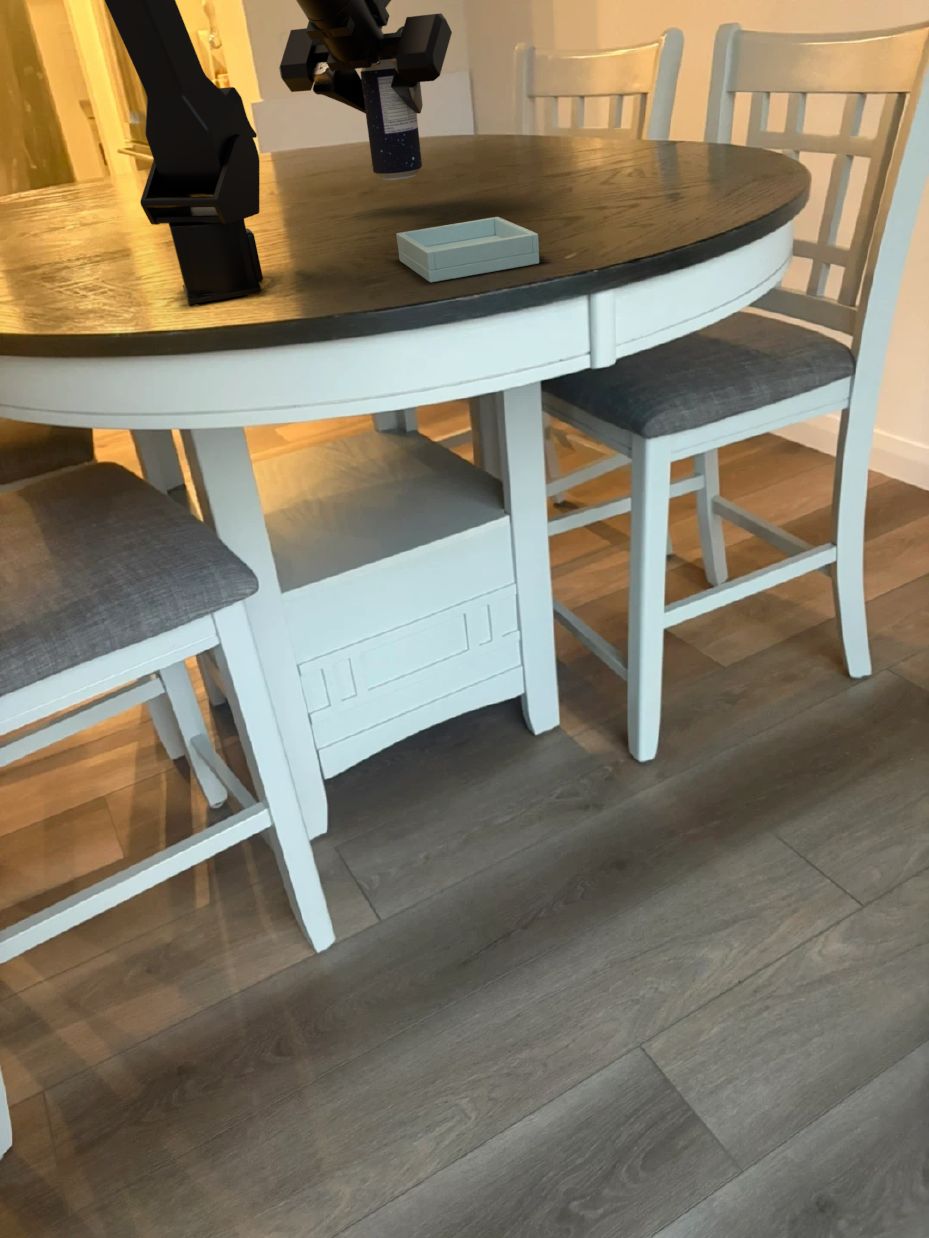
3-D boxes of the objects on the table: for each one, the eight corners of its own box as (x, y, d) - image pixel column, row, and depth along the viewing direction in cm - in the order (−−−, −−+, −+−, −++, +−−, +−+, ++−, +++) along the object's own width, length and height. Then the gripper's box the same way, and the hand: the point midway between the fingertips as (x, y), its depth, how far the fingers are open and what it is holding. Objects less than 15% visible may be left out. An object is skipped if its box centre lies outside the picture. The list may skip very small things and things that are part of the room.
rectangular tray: (430, 283, 78) (426, 252, 77) (399, 261, 87) (396, 233, 85) (539, 263, 81) (538, 233, 79) (499, 244, 89) (497, 216, 87)
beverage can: (426, 171, 107) (414, 52, 101) (419, 179, 103) (406, 54, 96) (379, 175, 108) (364, 57, 102) (370, 183, 104) (353, 60, 97)
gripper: (433, -89, 86) (489, 42, 100) (272, -63, 94) (346, 55, 108) (403, 13, 85) (464, 132, 99) (243, 32, 92) (321, 139, 106)
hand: (397, 111), depth 103 cm, fingers closed on beverage can, 5 cm apart
